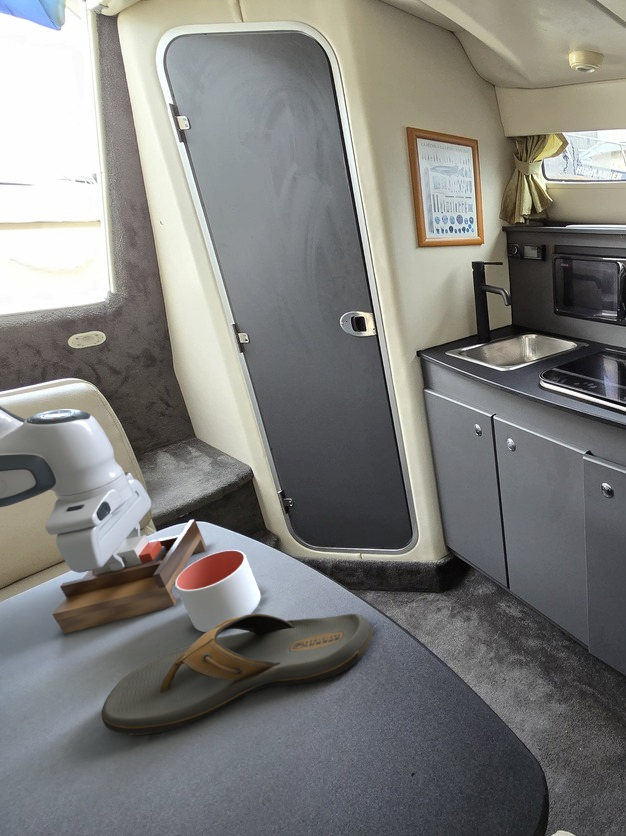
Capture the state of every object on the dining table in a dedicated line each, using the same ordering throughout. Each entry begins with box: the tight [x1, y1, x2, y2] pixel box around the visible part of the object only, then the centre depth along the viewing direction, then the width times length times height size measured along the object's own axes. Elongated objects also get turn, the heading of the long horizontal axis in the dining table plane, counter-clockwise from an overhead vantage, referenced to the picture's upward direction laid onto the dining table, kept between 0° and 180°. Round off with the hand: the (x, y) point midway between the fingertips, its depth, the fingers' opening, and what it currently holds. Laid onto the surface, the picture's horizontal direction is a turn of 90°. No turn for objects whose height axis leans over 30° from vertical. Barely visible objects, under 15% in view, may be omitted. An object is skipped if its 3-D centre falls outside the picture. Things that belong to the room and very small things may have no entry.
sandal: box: [100, 613, 374, 736], centre depth 75 cm, size 14×34×9 cm, turn 104°
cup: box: [174, 549, 261, 633], centre depth 87 cm, size 10×10×10 cm
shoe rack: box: [51, 518, 208, 634], centre depth 94 cm, size 16×17×8 cm
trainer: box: [94, 534, 167, 576], centre depth 92 cm, size 9×5×6 cm, turn 110°
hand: (128, 557), depth 93 cm, fingers closed on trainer, 5 cm apart
